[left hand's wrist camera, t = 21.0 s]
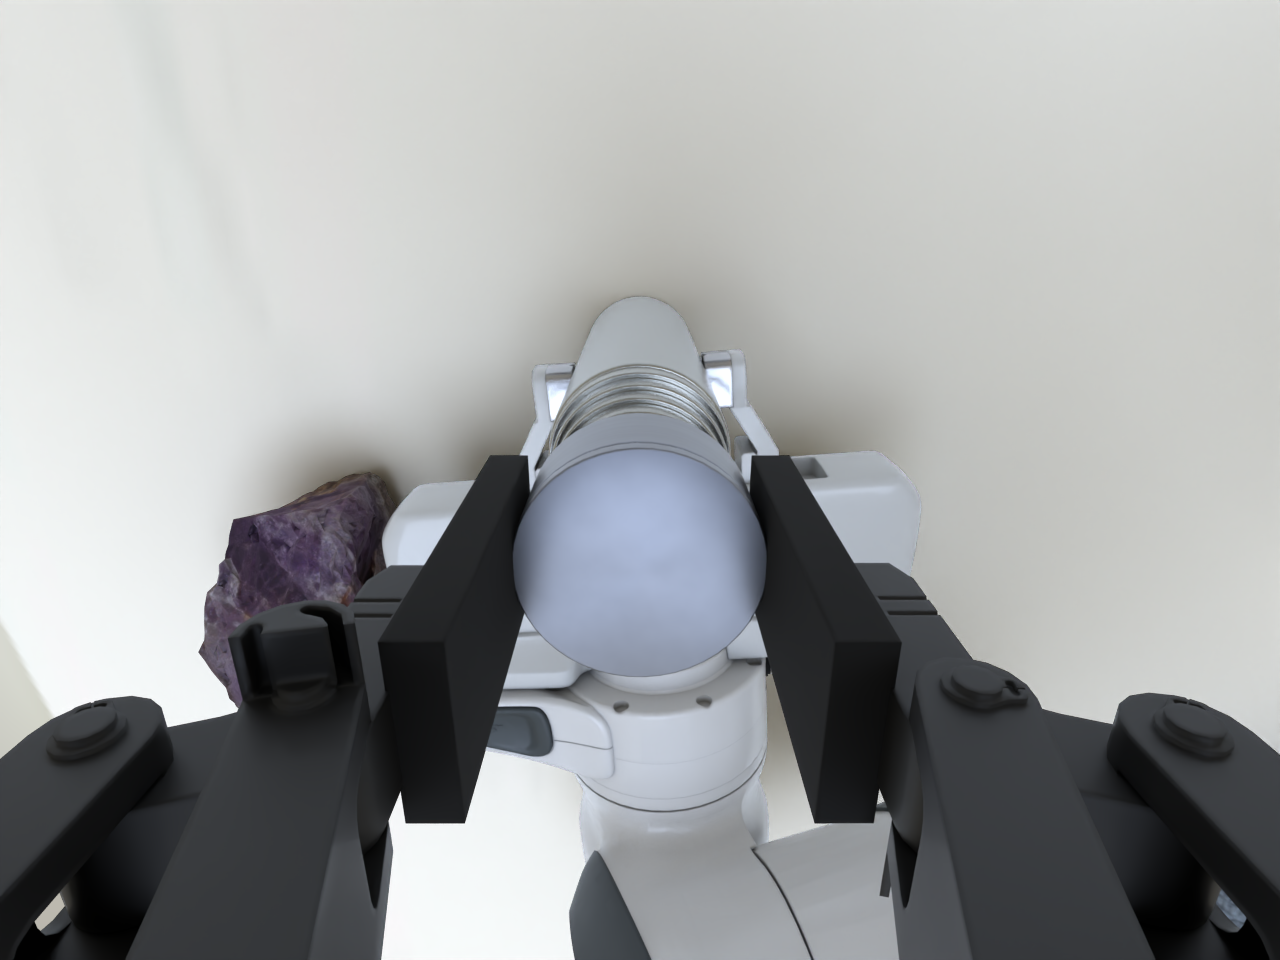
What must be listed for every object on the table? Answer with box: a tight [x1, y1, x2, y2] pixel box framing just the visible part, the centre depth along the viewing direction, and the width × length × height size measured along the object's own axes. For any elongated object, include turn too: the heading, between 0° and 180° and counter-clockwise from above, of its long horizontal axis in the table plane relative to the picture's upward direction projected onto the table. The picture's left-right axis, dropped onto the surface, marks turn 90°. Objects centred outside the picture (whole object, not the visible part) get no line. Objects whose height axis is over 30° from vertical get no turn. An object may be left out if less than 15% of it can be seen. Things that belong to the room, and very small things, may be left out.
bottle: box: [548, 296, 731, 457], centre depth 23 cm, size 5×5×20 cm
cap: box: [512, 413, 767, 677], centre depth 14 cm, size 4×4×2 cm
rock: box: [199, 472, 397, 708], centre depth 32 cm, size 12×9×10 cm
